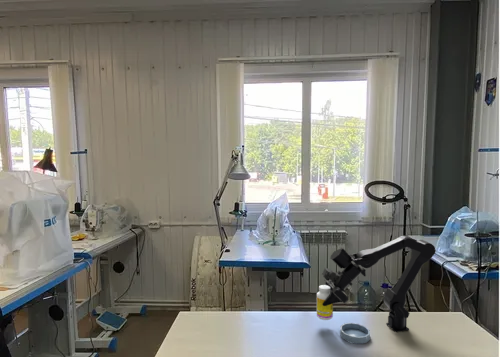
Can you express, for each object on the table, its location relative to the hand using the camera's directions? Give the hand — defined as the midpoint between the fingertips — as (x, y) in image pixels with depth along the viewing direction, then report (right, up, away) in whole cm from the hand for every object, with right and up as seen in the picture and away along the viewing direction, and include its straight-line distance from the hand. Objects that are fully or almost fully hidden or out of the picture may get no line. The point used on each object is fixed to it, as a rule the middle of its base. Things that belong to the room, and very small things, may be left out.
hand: (321, 301), depth 137 cm
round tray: (+12, -11, -6) cm, 18 cm away
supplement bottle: (+1, -7, 0) cm, 7 cm away
